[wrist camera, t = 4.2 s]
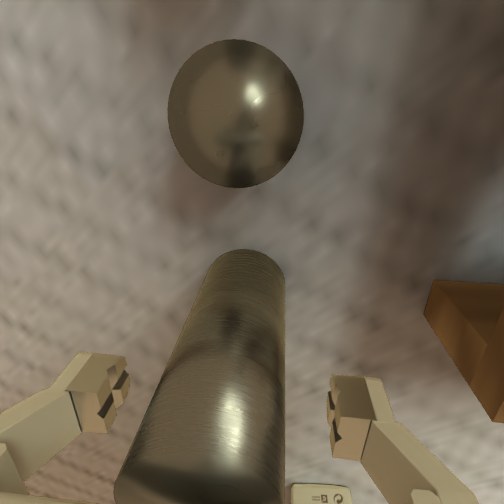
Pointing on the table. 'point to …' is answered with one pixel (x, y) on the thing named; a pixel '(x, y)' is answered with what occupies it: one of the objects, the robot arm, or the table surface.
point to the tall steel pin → (218, 397)
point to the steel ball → (235, 113)
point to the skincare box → (320, 494)
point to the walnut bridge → (472, 336)
